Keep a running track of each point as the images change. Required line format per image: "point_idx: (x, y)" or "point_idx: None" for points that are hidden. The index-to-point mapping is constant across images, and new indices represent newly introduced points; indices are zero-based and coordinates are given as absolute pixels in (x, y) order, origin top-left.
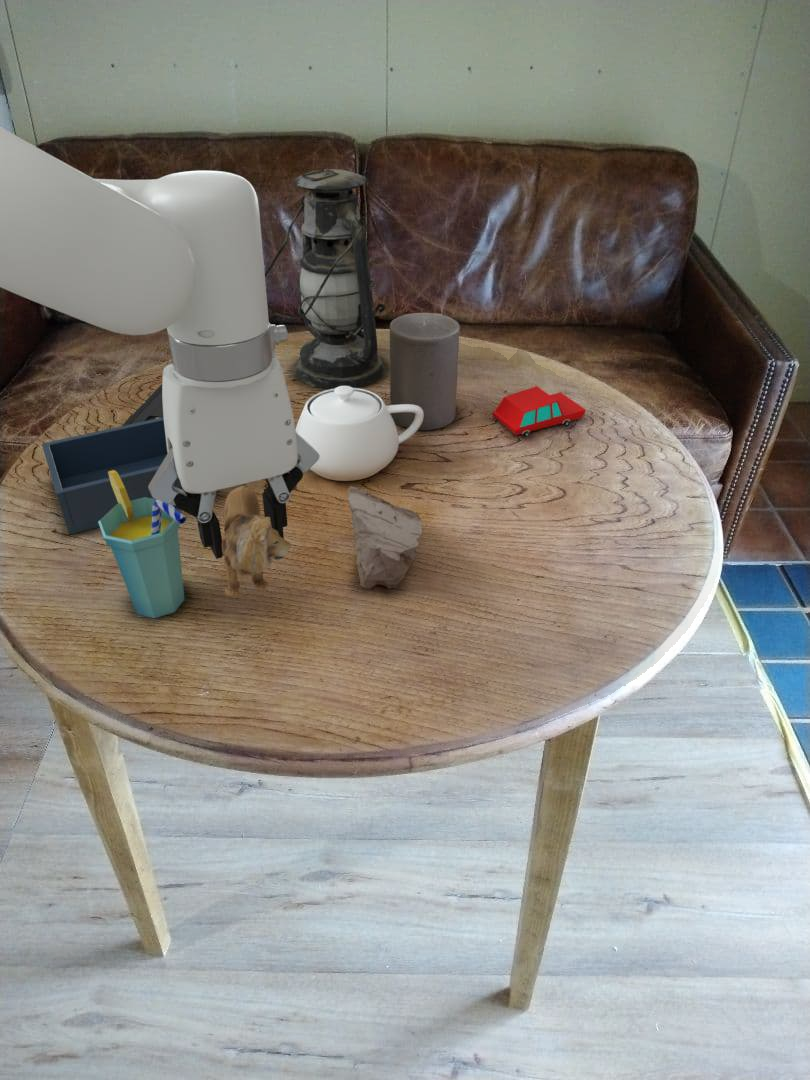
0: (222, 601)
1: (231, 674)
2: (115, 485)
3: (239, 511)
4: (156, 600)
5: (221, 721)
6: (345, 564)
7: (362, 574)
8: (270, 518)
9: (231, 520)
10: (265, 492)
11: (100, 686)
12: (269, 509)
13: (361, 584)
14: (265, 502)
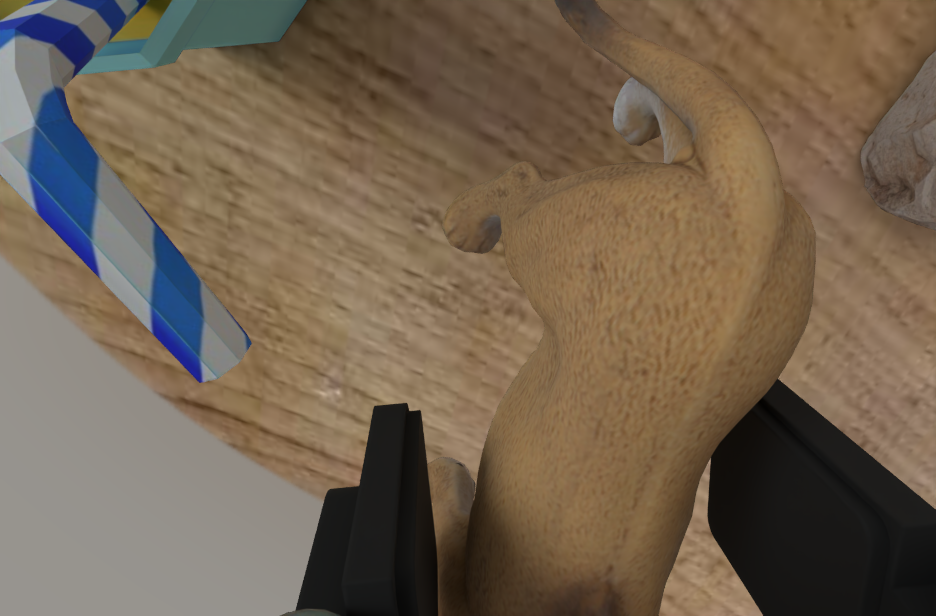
0: (438, 48)
1: (403, 358)
2: None
3: (615, 540)
4: (206, 47)
5: (356, 479)
6: (877, 17)
7: (897, 165)
8: (769, 555)
9: (534, 594)
10: (891, 568)
11: (67, 280)
12: (808, 611)
13: (865, 157)
14: (823, 548)
